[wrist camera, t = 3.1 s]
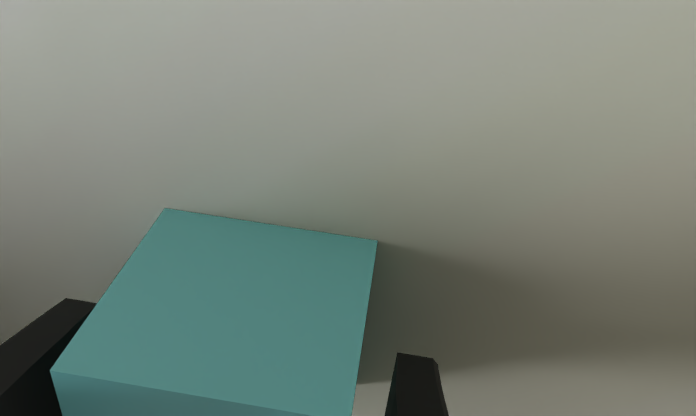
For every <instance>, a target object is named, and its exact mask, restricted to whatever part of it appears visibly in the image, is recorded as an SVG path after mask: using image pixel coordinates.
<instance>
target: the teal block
mask: <svg viewBox="0 0 696 416" xmlns="http://www.w3.org/2000/svg"><path fill="white" fill-rule="evenodd" d="M377 242H378V241H376V240H370V239H363V238H357V237H350V236H344V235H337V234H331V233H324V232H317V231H311V230H304V229H298V228H291V227H285V226H278V225H272V224H265V223H259V222H252V221H246V220H239V219H233V218H226V217H219V216H213V215H206V214H200V213H193V212H187V211H180V210H174V209H167V208H165V209H164V210H163V211H162V213H161V214H160V216H159V217H158V219H157V220H156V221H155V223H154V224H153V226H152V227H151V228H150V230H149V231H148V233H147V234H146V235H145V237H144V238H143V240H142V241H141V242H140V244H139V245H138V247H137V248H136V250H135V251H134V252H133V254H132V255H131V257H130V258H129V259H128V261H127V262H126V264H125V265H124V266H123V268H122V269H121V271H120V272H119V273H118V275H117V276H116V278H115V279H114V281H113V282H112V283H111V285H110V286H109V288H108V289H107V290H106V292H105V293H104V295H103V296H102V297H101V299H100V300H99V302H98V303H97V304H96V306H95V307H94V309H93V310H92V312H91V313H90V314H89V316H88V317H87V319H86V320H85V321H84V323H83V324H82V326H81V327H80V328H79V330H78V331H77V333H76V334H75V335H74V337H73V338H72V340H71V341H70V343H69V344H68V345H67V347H66V348H65V350H64V351H63V352H62V354H61V355H60V357H59V358H58V359H57V361H56V362H55V364H54V365H53V366H52V368H51V369H50V373H51V377H52V380H53V384H54V387H55V391H56V394H57V398H58V401H59V405H60V409H61V412H62V416H351V415H352V408H353V402H354V395H355V388H356V382H357V375H358V368H359V362H360V355H361V348H362V342H363V335H364V328H365V322H366V315H367V309H368V302H369V295H370V289H371V282H372V275H373V269H374V262H375V255H376V249H377Z"/></svg>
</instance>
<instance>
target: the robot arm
mask: <svg viewBox="0 0 696 416" xmlns="http://www.w3.org/2000/svg"><path fill="white" fill-rule="evenodd" d="M96 304H97V303H92V302H85V301H79V300H73V299H67V298H66V299H64V300H63V301H61V302H60V303H58V304H57V305H56V306H54V307H53V308H51V309H50V310H49V311H47V312H46V313H44V314H43V315H42V316H40V317H39V318H37V319H36V320H35V321H33V322H32V323H30V324H29V325H28V326H26V327H25V328H24V329H22V330H21V331H19V332H18V333H17V334H15V335H14V336H13V337H11V338H10V339H8V340H7V341H6V342H4V343H3V344H2V345H0V416H62V412H61V409H60V405H59V401H58V398H57V394H56V391H55V387H54V384H53V380H52V377H51V373H50V369H51V368H52V366H53V365H54V364H55V362H56V361H57V359H58V358H59V357H60V355H61V354H62V352H63V351H64V350H65V348H66V347H67V345H68V344H69V343H70V341H71V340H72V338H73V337H74V335H75V334H76V333H77V331H78V330H79V328H80V327H81V326H82V324H83V323H84V321H85V320H86V319H87V317H88V316H89V314H90V313H91V312H92V310H93V309H94V307H95V306H96ZM385 416H449V415H448V411H447V407H446V403H445V399H444V395H443V391H442V386H441V381H440V376H439V370H438V364H437V363H436V362H435V360H434V359H433V358H427V357H421V356H415V355H409V354H403V353H397V357H396V362H395V367H394V372H393V377H392V382H391V387H390V392H389V397H388V402H387V407H386V412H385Z"/></svg>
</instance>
